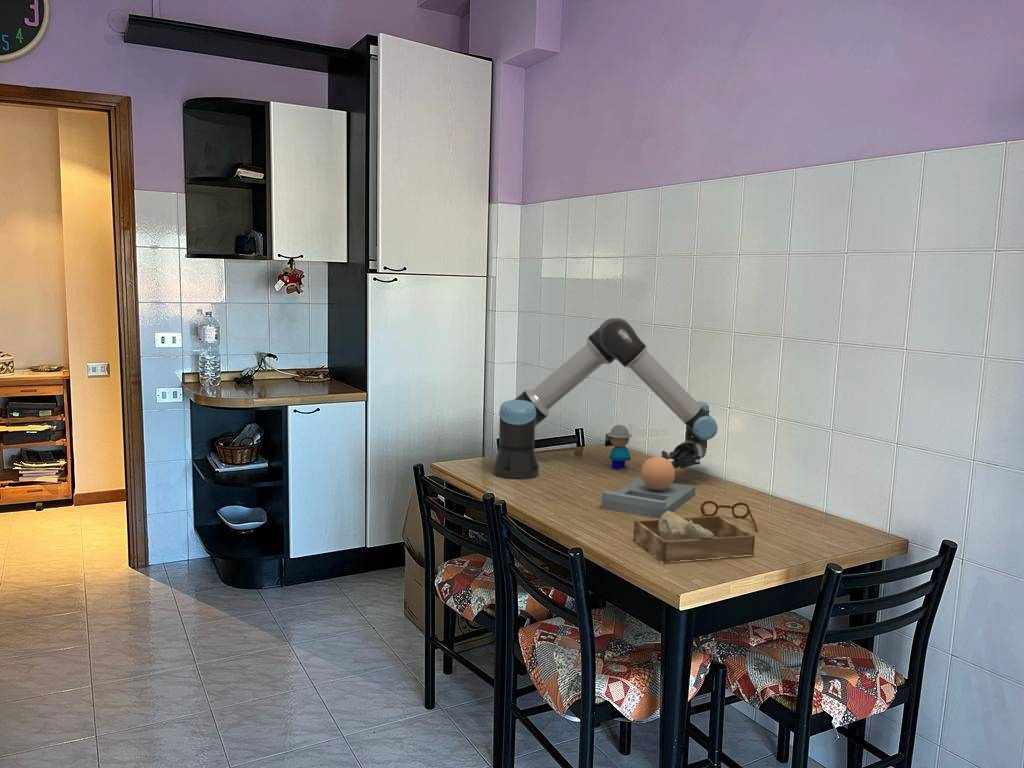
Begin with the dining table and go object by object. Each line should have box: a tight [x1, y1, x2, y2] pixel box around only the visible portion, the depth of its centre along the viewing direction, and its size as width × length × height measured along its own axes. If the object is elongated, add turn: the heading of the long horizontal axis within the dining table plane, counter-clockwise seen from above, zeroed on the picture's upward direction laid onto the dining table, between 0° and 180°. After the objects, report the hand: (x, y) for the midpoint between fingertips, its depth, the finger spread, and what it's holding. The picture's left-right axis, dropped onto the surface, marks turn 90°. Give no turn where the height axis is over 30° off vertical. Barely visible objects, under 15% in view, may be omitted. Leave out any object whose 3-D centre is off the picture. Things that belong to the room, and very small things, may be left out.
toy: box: [604, 424, 633, 471], centre depth 272 cm, size 8×9×15 cm
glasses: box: [700, 500, 759, 533], centre depth 212 cm, size 13×13×5 cm
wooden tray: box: [632, 515, 756, 562], centre depth 192 cm, size 16×23×5 cm
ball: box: [640, 456, 676, 490], centre depth 235 cm, size 10×10×10 cm
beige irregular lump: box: [658, 511, 715, 541], centre depth 191 cm, size 15×7×15 cm
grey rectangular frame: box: [601, 477, 696, 519], centre depth 232 cm, size 30×18×4 cm, turn 151°
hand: (664, 467), depth 239 cm, fingers closed
